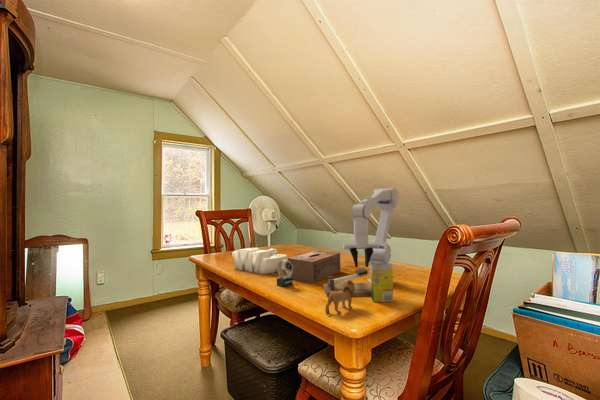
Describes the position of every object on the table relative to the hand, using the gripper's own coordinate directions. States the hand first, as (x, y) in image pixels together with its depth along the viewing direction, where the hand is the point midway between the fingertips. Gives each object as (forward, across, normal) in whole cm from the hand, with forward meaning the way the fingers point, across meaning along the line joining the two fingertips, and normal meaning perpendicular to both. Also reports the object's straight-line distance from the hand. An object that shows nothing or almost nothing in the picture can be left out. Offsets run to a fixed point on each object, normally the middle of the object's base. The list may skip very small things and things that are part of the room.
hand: (361, 266), depth 115 cm
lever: (+7, -6, 0) cm, 9 cm away
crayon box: (+10, +5, -12) cm, 16 cm away
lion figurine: (+10, -12, -18) cm, 24 cm away
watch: (+10, -32, +11) cm, 35 cm away
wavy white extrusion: (+10, -48, +43) cm, 65 cm away
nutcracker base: (+10, -6, 0) cm, 11 cm away
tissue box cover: (+10, -17, +27) cm, 33 cm away
